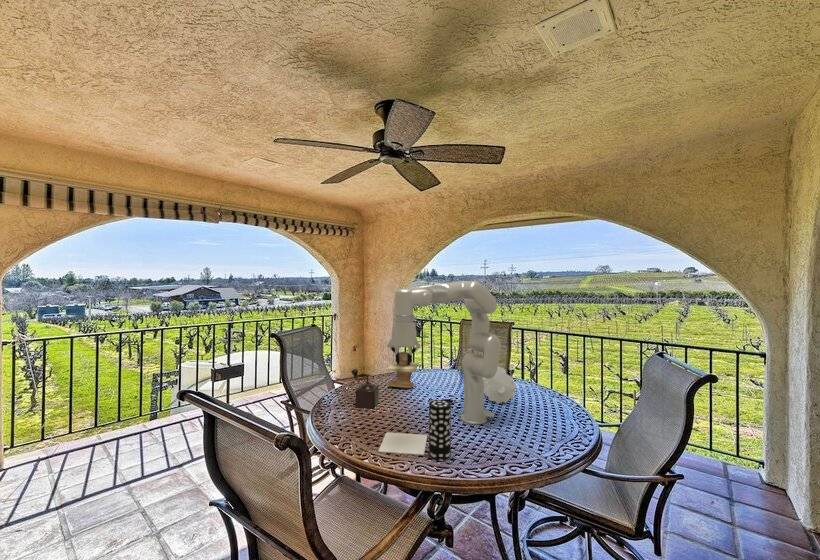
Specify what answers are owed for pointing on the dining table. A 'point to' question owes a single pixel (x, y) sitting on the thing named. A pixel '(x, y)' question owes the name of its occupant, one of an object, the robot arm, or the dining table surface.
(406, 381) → the tan stepped piece
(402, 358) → the wooden lid
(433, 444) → the spotted tube
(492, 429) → the dining table surface
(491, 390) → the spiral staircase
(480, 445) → the dining table surface
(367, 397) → the pepper mill
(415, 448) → the white flat block
